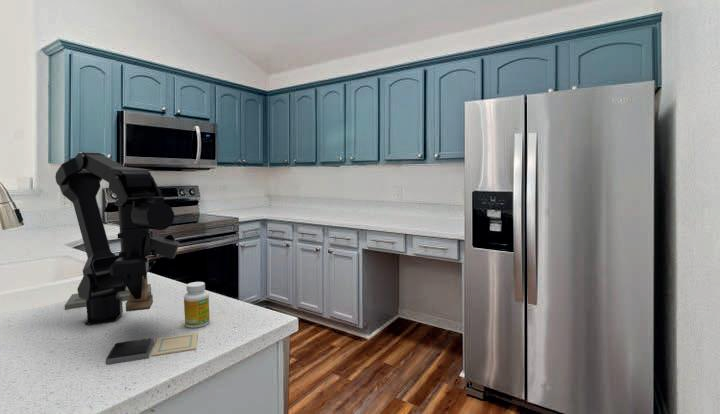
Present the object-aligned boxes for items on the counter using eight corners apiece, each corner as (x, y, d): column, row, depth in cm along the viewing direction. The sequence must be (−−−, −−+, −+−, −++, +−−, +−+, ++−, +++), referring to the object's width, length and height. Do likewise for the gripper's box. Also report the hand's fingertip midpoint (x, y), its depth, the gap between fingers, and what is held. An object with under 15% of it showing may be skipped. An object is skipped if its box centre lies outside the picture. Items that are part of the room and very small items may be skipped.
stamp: (125, 311, 81) (124, 283, 80) (130, 304, 85) (128, 277, 84) (149, 308, 82) (148, 280, 82) (152, 302, 86) (151, 275, 86)
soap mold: (71, 300, 108) (70, 289, 108) (151, 289, 118) (150, 278, 117) (65, 312, 99) (64, 299, 99) (151, 299, 109) (151, 287, 108)
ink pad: (106, 364, 70) (105, 357, 70) (115, 348, 77) (114, 342, 77) (148, 357, 73) (147, 351, 73) (153, 342, 79) (153, 336, 79)
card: (151, 356, 74) (151, 354, 74) (157, 339, 81) (157, 337, 81) (196, 349, 76) (195, 347, 76) (197, 333, 84) (197, 332, 84)
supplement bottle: (200, 329, 86) (198, 288, 85) (179, 327, 87) (178, 286, 87) (214, 320, 92) (212, 281, 91) (194, 318, 93) (192, 280, 92)
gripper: (171, 230, 76) (175, 305, 78) (179, 220, 94) (182, 281, 95) (106, 234, 72) (112, 312, 74) (128, 222, 90) (132, 286, 91)
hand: (139, 296), depth 83 cm, fingers closed on stamp, 3 cm apart
